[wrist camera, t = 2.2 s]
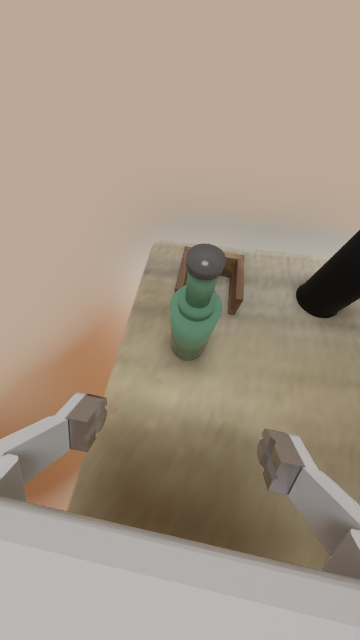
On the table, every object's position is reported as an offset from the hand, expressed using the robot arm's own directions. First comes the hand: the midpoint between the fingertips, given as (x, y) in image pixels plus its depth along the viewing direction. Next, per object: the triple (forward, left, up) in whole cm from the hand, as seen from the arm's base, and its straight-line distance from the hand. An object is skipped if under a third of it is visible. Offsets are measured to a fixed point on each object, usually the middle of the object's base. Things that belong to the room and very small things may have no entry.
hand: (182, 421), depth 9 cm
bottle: (0, -11, -19) cm, 22 cm away
